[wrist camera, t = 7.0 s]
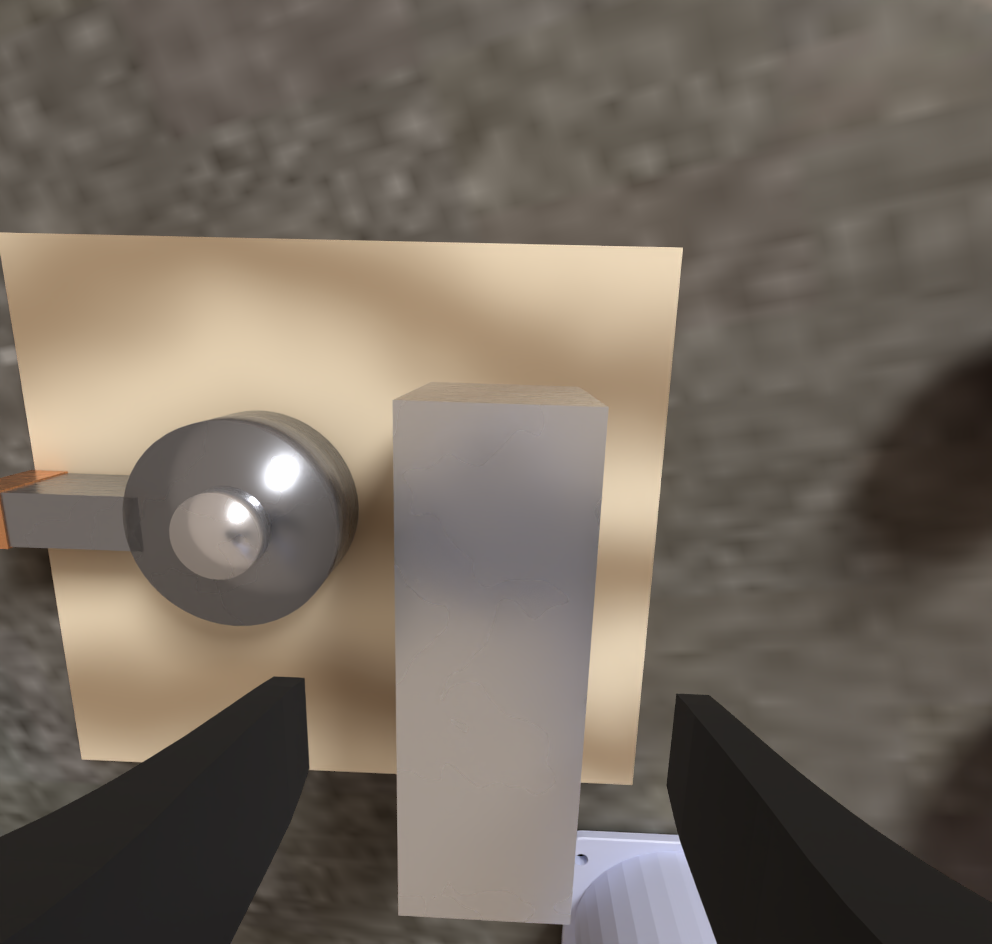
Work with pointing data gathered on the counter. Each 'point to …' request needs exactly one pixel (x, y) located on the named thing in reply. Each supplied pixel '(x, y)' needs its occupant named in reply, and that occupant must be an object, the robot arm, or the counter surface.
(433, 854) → the grey long rectangular block
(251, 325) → the wooden board
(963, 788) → the counter surface
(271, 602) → the grey lidded pan
